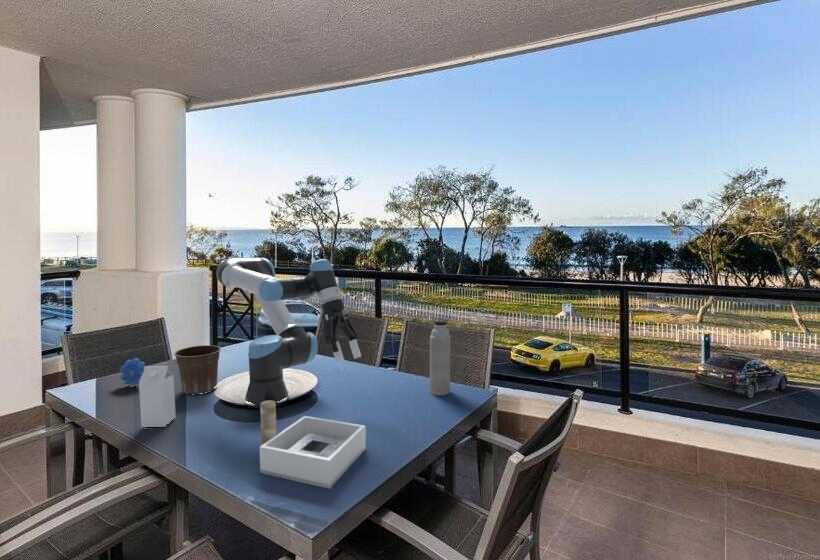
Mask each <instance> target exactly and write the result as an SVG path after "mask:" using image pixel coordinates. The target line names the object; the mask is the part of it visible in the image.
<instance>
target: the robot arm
mask: <svg viewBox="0 0 820 560" xmlns="http://www.w3.org/2000/svg"><path fill="white" fill-rule="evenodd" d="M274 266H275V265H274V264H273V262H271V261H270V260H269V259H268V258H265V257H258V256H257V257H256V256H255V257H250V258H249V257H246V258H245V257H244V258H243V257H242V258H241V257H240V258H238V257H236V258H229V259H226V260H224V261H223V262H221V263H220V264H219V265H218V266H217V268H216V272H215V273H216V274H215V275H216V279H217V281H218V282H219V283H220V284H221V285H223V286H224V287H228V288H230V289H231V288H239V289H242V290H245V291H248V292H249V293H250V294H254V296H255V298H256V300H257V301H258V304H259V305H260V307H261V308H262V309H261V310H262V311H263V313H264V314H265V317H266V318H267V321H268V323H269V324H270V326H271V328H272V329H273V331H274V333H275V334H270V335H263V336H260V337H257V338H255V339H253V340H251V342H249V345H248V354H247V357H248V366H249V367H248V368H249V371H248V373H249V383H248V386H247V389H246V393H245V397H244V400H246V401H248V402H251V403H253V404H255V406H253V407H252V408H254V409H261V408H260V404H261V403H262V402H264V401H269V400H272V401H275V402H276V407H277V406H279V405H280V406H281V405H282V404H281V403H277V401H280V400H282V399H284V398H286V397H287V396H288V397H289V391H288V388H287V386H286V384H285V380H284V369H289V368H292V367H296V366H300V365H305V364H307V363H311V362H312V361H314V360H315V358H316V356H317V354H318V348H319V347H318V345H319V344H318V339H317V337H316V336H315V334H314V333H312V332H310V331H307V332H306V331H305V329H304V327H302V325H299V324H297V323H296V321H295V320H294V318H293V316H292V315H291V313H290V311H289V310H288V308H287V306H286V304H285V302H284V300H292V299H298V300H300V301H305V300H308V299H310V298H313V296H314V295H316V294H317V295H318V299H319V302H320V304H321V308H322V312H323V314H324V315H323V321H324V323H323V324H324V341H325V342H326V345H330V347H331V351H332V354H333V357H334V361H335V363H336V364H337V363H341V362H343V361H345V358H344V355H343V352H342V348H341V345H340V342H339V340H338V331H339V329H340V330H341V331H342V332H343V333H344V335H345V336H346V337H347V339H348V340H349V341H348V344H349V348H350V350H351V352H352V356H353V359H358V358H361V357H362V353H361V351H360V348H359V344H358V341H357V339H359V334H358V333H357V330H356V329H355V327H354V325H353V324H352V322H351V320H350V318H349V315H348V313H343V311H344V310H345V305H344V301H343V299H342V296H341V289H340V288H339V286H338V282H337V279H336V276H335V273H334V269H333V267H332V264H331V262H330V260H328V259H326V258H322V259H317V260H314V261H313V262H311V263H310V264H309V273H308V274H306V275H305V276H297V277H285V278H284V277H283V278H280V277H279V278H278V277H276V271H275V270H276V269H275V267H274Z"/></svg>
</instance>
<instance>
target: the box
mask: <svg viewBox="0 0 820 560" xmlns="http://www.w3.org/2000/svg"><path fill="white" fill-rule="evenodd" d="M366 432H367V430H366V425H364V424H359V423H358V424H357V423H352V422H351V423H350V422H345V421H339V420H334V419H327V418H326V419H325V418H321V417H320V418H319V417H314V416H307V415H304V416H302V417H300V418H299V419H298V420H297V421H295V422H293V423H292V424H291V425H289V426H288V427H286V428H285V429H283V430H281V432H279V433H278V434H277V433H276V436H275V437H273V438H272V439H270V440H269V441H267V442H266V443H265V444H263V445H262V444H261V446H259V466H260V467H259V469H260V472H262V473H266V474H270V475H274V476H273V477H275V476H278V477H277V478H279V477H282V478H281V479H284V478H286V479H285V480H288V479H289V481H293V482H299V483H303V484H306V485H312V486H315V487H316V486H317V487H320V488H325V489H329V490H330V489H331V488H332V487H333V486H334V485H335V484H336V482H338V481H339V479H340V478H341V477H342V476H343V475H344V474H345V473H346V471H348V469H349V468H350V467H352V465H353V464H354V463H355V462H356V461H357V460H358V458H359V457H360V456H362V454H363V453H364V452H365V451H366V449H367V448H366V447H367V446H366V440H367V439H366V436H367V435H366V434H367V433H366ZM309 433H310V434H315V435H321V436H327V437H332V438H338V439H344V440H346V441H345V442H344V443H343V444H342V445H341V446H340V447H339V448H338V449H337V450H336V451H335V452H334V453H332V454H331V455H330V456H329V457H328V458H326V457H321V456H315V455H310V454H305V453H300V452H295V451H290V450H288V449H289V448H291V447H292V446H293V445H294V444H296V443H297V442H298V441H300V440H301V439H302V438H303V437H305V436H306V435H307V434H309ZM311 452H316V453H320V452H318V451H311ZM266 474H265V475H266ZM270 475H269V476H270Z"/></svg>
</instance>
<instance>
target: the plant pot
mask: <svg viewBox="0 0 820 560" xmlns="http://www.w3.org/2000/svg"><path fill="white" fill-rule="evenodd" d="M221 350H222V348H221V347H220V346H218V345H212V344H211V345H207V344H206V345H205V344H204V345H203V344H202V345H194V346H188V347H184V348H180V349H178V350H176V351H175V352H174V356H175V359H176V364H177V365H178V369H179V370H178V371H179V376H180V382H181V389H182V393H183V392H184V393H187V394H195V395H200V394H199V393H205V392H209V391H212V390H213V389H214V387H215V386H216V385H217V386H218V376H219V375H218V374H219V373H218V370H219V359H220V351H221ZM212 392H213V391H212ZM184 393H183V394H184ZM209 393H210V392H209Z"/></svg>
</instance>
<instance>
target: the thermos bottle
mask: <svg viewBox="0 0 820 560" xmlns="http://www.w3.org/2000/svg"><path fill="white" fill-rule="evenodd" d="M433 323H434V325H433V329H432V330H431V335H430V336H429V393H430V394H432V395H433V394H434V396H440V395H441V396H446V395H445V394H447V395H449V394H450V393H451V343H452V342H451V341H452V340H451V338H452V336H451V335H450V331H449V329H448V328H447V327H448V326H447V324H448V322H447V321H444V320H436V321H434V322H433ZM448 393H449V394H448Z"/></svg>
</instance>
